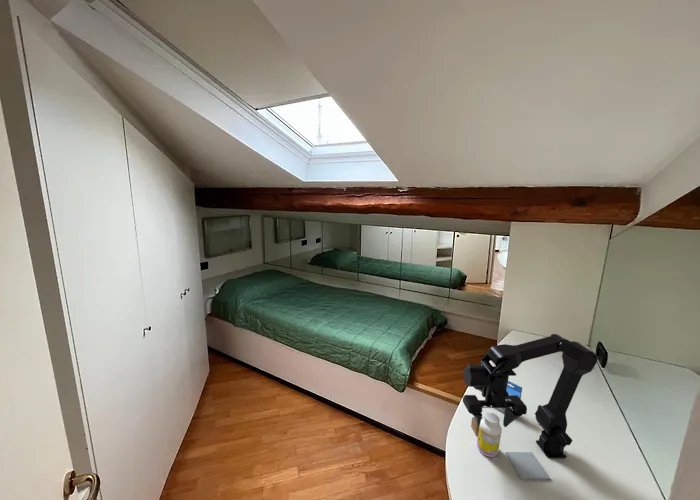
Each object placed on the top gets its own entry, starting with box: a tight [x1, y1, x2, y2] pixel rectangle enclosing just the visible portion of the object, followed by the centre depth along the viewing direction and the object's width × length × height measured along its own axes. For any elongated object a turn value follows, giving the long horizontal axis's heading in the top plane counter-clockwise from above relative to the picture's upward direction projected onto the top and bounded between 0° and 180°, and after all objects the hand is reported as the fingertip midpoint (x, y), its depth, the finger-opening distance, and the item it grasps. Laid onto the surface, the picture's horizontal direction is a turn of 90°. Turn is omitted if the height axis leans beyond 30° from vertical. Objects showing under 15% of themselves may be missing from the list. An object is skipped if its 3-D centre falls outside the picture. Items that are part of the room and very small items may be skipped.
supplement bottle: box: [476, 411, 503, 458], centre depth 97 cm, size 7×7×13 cm
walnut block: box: [470, 416, 484, 436], centre depth 106 cm, size 4×4×4 cm
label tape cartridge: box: [494, 380, 523, 414], centre depth 115 cm, size 9×4×12 cm, turn 42°
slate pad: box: [505, 451, 551, 481], centre depth 93 cm, size 9×9×1 cm
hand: (491, 426), depth 97 cm, fingers open, 9 cm apart
